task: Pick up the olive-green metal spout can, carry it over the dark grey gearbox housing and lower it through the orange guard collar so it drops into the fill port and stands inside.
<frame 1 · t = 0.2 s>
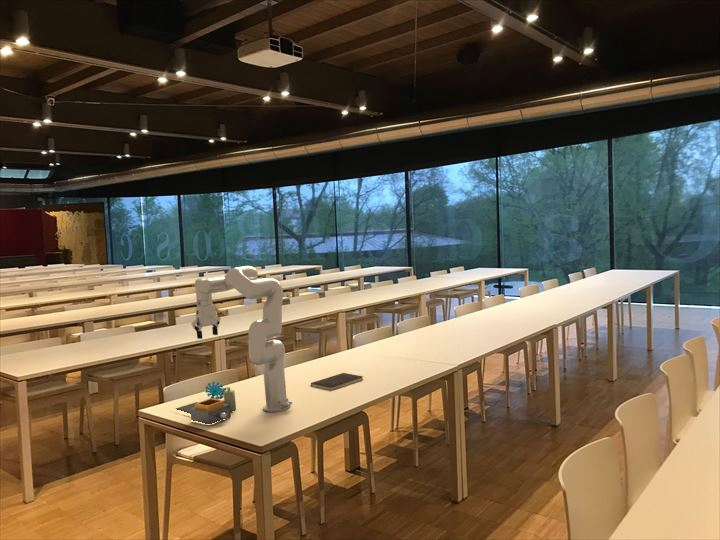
hand: (207, 336, 289), 31 cm above the table, tool pointing down, fingers open, 9 cm apart
spout can: (230, 410, 266), on the table
gearbox housing: (211, 419, 255), on the table
gear: (216, 397, 290), on the table
hardcover book: (337, 384, 302), on the table
dark grey flat slab: (195, 412, 271), on the table
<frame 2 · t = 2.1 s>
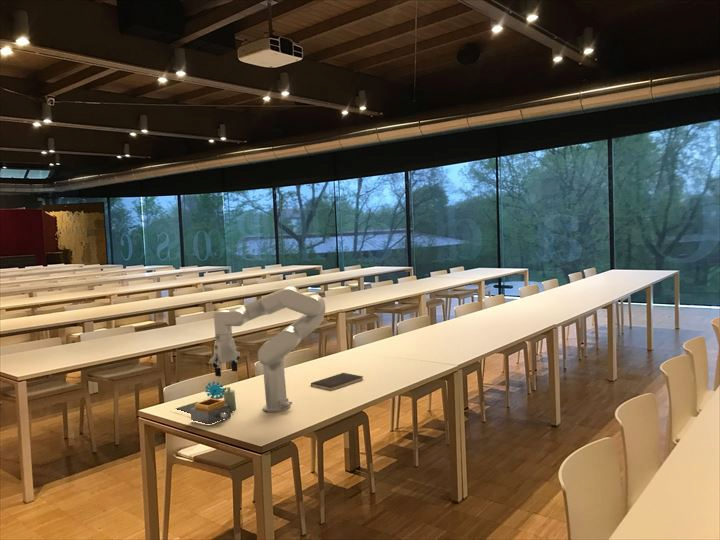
hand: (226, 373, 265), 17 cm above the table, tool pointing down, fingers open, 9 cm apart
nothing on the table moved.
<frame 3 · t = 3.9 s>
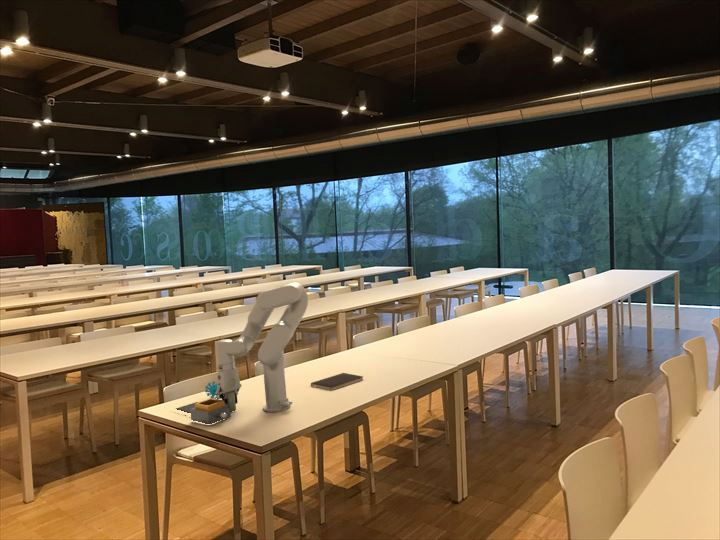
hand: (230, 404, 266), 3 cm above the table, tool pointing down, fingers closed on spout can, 5 cm apart
spout can: (230, 410, 266), on the table, touching gripper
everything else where it was.
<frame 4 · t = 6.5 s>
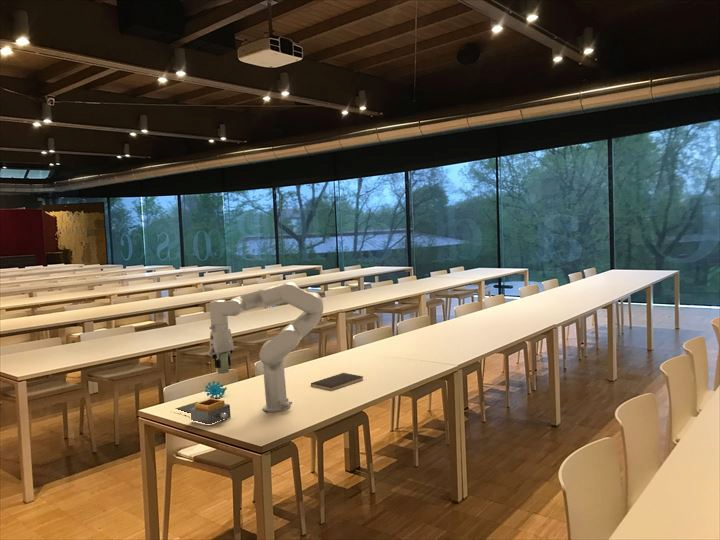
hand: (222, 366, 263), 22 cm above the table, tool pointing down, fingers closed on spout can, 5 cm apart
spout can: (223, 372, 263), point 19 cm above the table, touching gripper
everything else where it was.
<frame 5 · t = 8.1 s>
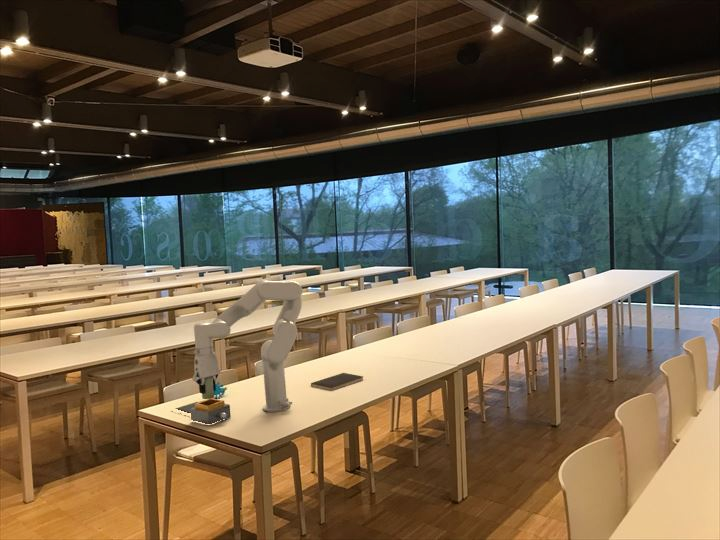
hand: (207, 391, 254), 13 cm above the table, tool pointing down, fingers closed on spout can, 5 cm apart
spout can: (208, 397, 254), point 10 cm above the table, touching gripper
everything else where it was.
when the fingers open (9 cm above the table, at t = 9.2 s): spout can drops 7 cm, resting in gearbox housing.
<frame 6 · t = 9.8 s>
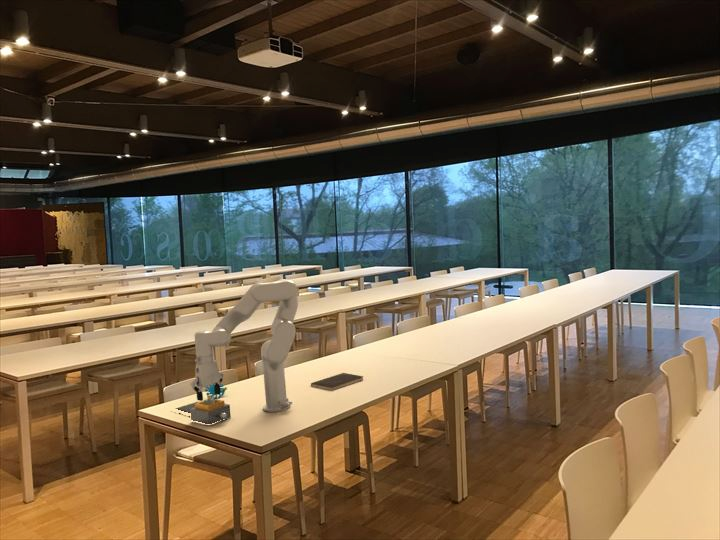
hand: (209, 397, 254), 10 cm above the table, tool pointing down, fingers open, 9 cm apart
spout can: (211, 419, 255), resting in gearbox housing
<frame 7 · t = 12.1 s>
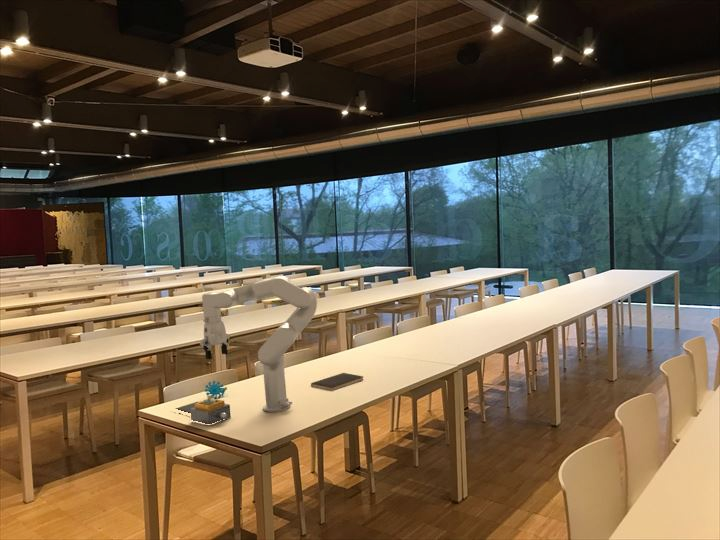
hand: (217, 356, 264), 26 cm above the table, tool pointing down, fingers open, 9 cm apart
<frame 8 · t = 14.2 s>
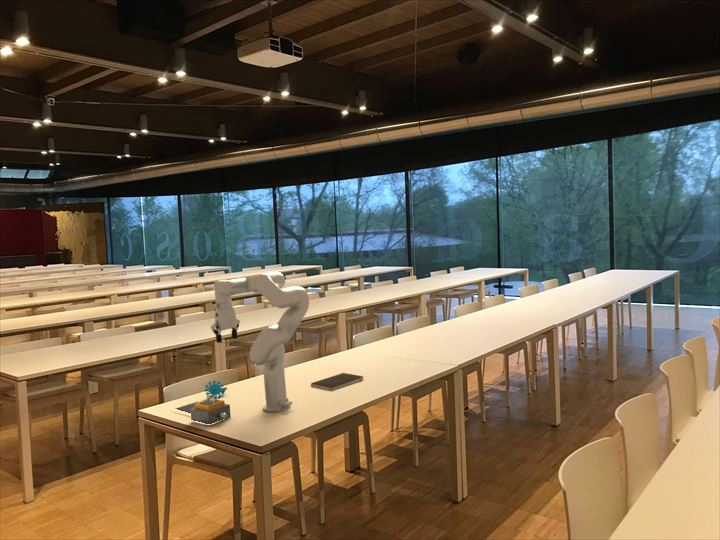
hand: (227, 340, 278), 30 cm above the table, tool pointing down, fingers open, 9 cm apart
at the end: spout can 0.0 cm off-centre on the gearbox housing, point 0.0 cm above the gearbox housing's base; spout can tilted 1°; the gripper is holding nothing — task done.
